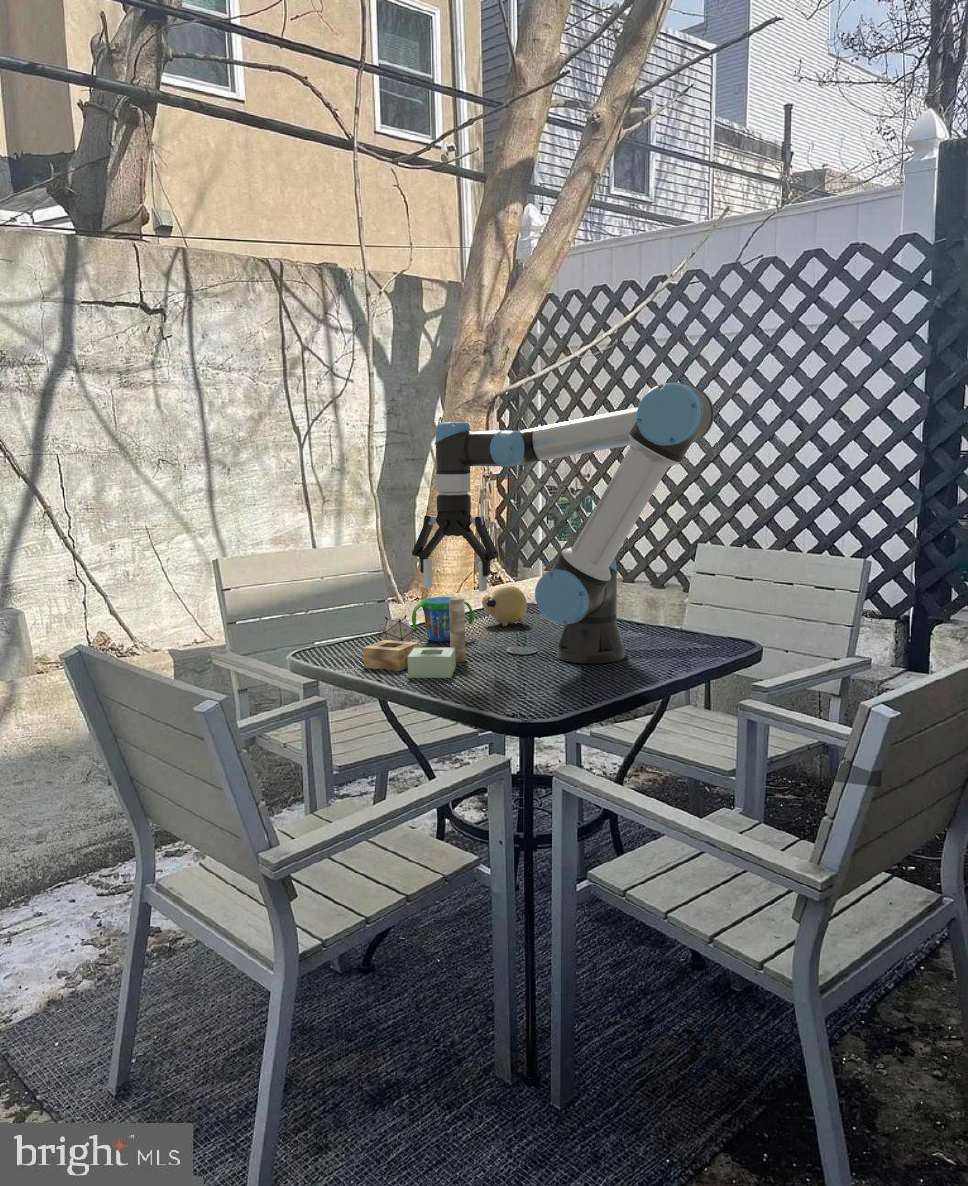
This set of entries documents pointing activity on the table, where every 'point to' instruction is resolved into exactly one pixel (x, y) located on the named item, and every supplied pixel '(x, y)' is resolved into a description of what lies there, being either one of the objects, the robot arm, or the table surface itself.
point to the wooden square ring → (388, 654)
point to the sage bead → (431, 663)
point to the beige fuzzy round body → (506, 605)
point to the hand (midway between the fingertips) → (455, 589)
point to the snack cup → (437, 617)
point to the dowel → (457, 628)
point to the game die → (397, 630)
